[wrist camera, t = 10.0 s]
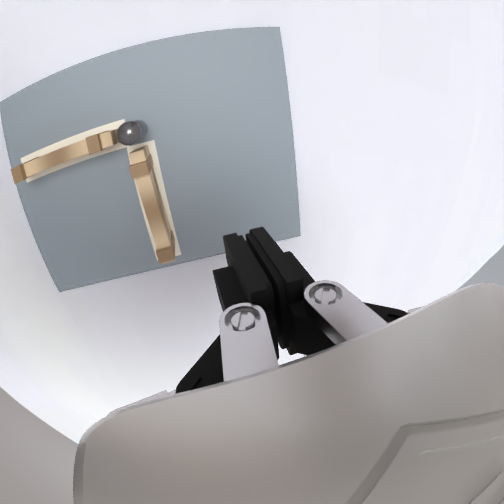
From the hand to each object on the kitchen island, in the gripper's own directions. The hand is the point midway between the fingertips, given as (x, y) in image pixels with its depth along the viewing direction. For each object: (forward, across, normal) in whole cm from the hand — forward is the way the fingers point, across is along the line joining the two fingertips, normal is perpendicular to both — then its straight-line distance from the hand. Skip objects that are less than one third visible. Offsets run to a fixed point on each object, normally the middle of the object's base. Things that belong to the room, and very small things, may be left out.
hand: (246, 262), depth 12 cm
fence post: (+17, +5, -5) cm, 18 cm away
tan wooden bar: (+16, +5, +1) cm, 17 cm away
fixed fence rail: (+16, +11, -5) cm, 21 cm away
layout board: (+17, +5, -2) cm, 18 cm away
